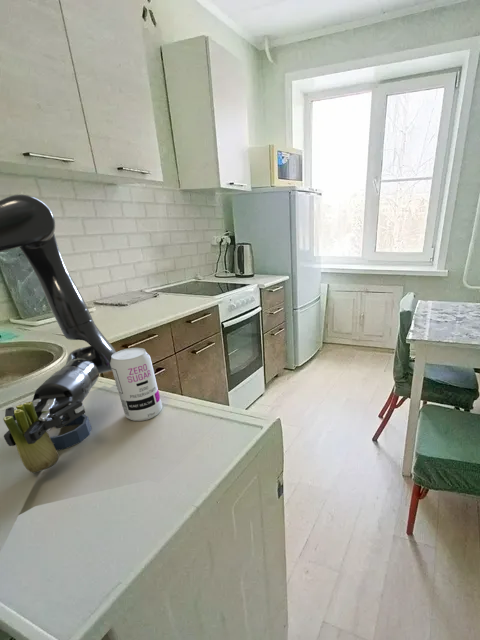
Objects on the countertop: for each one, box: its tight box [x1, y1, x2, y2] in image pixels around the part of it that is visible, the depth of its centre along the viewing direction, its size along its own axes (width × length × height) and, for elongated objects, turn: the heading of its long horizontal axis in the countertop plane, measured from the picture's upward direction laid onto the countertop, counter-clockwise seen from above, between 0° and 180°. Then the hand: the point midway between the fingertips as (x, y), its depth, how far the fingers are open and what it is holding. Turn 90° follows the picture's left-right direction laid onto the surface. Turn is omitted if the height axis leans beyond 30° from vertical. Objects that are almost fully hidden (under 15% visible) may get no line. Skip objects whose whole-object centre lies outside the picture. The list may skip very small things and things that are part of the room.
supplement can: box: [110, 347, 163, 422], centre depth 79 cm, size 8×8×15 cm
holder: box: [49, 413, 93, 451], centre depth 75 cm, size 10×10×3 cm
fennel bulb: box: [2, 401, 60, 474], centre depth 60 cm, size 6×5×12 cm
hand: (19, 440), depth 56 cm, fingers closed on fennel bulb, 2 cm apart
